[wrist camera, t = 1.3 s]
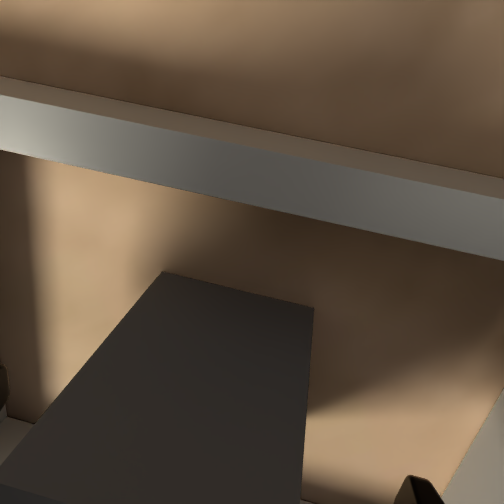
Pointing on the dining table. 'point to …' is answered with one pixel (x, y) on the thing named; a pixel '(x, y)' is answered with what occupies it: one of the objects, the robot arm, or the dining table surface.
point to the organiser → (271, 199)
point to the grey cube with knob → (178, 407)
